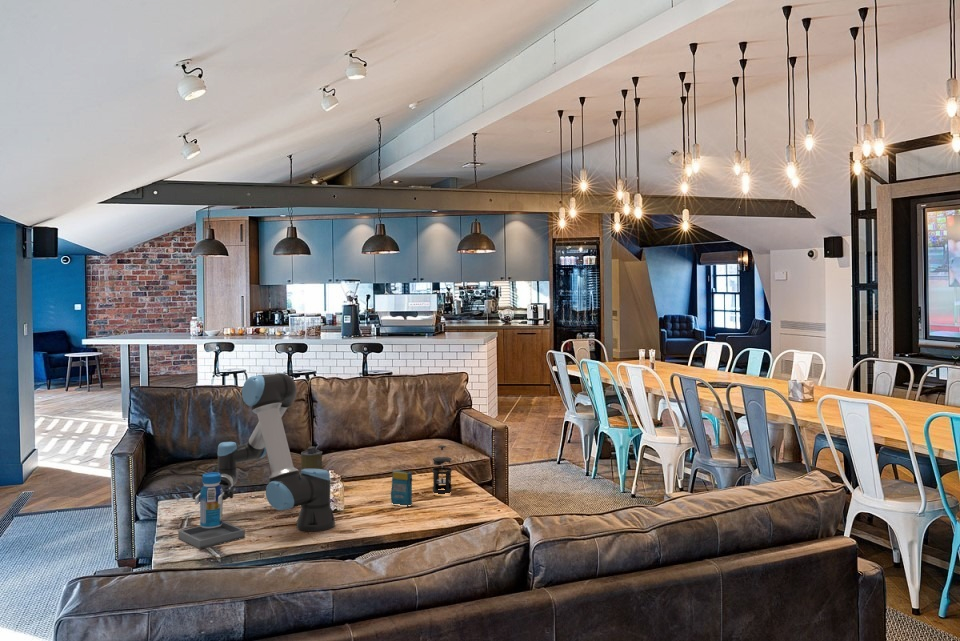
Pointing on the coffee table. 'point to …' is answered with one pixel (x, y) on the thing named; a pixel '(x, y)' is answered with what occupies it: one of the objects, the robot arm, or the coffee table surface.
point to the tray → (210, 535)
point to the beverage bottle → (211, 501)
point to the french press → (436, 475)
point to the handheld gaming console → (401, 488)
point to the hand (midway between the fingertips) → (207, 500)
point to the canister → (311, 459)
